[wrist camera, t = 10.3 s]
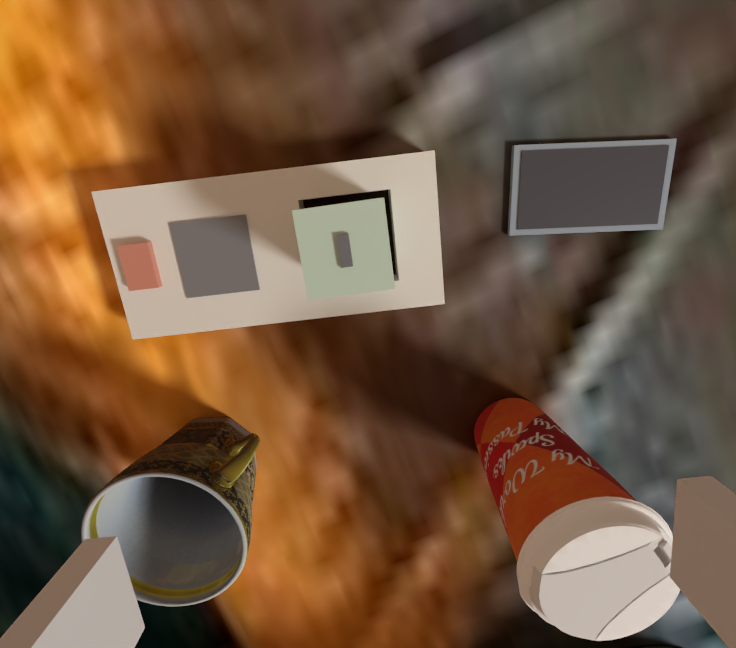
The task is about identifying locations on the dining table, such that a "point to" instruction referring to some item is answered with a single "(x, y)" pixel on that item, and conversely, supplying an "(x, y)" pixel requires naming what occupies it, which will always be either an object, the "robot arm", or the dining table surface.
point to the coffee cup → (573, 528)
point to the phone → (589, 186)
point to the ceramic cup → (182, 513)
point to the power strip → (260, 245)
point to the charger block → (344, 248)
